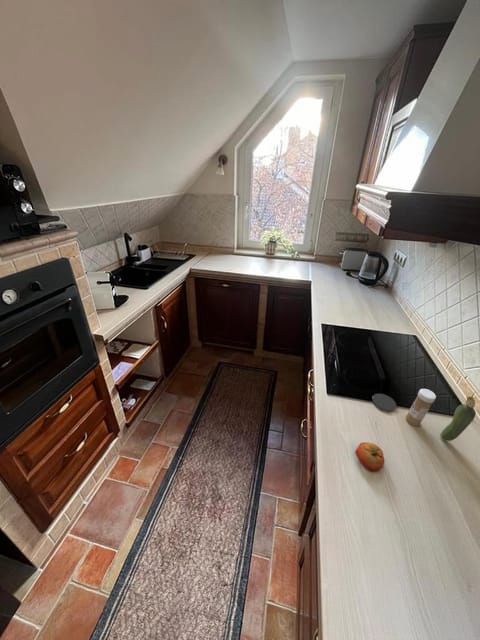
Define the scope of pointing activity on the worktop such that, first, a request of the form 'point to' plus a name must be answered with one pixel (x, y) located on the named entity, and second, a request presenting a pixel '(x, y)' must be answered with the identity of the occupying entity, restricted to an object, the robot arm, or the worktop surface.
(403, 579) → the worktop surface
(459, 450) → the worktop surface
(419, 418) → the sprinkles bottle
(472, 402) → the vegetable
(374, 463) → the tomato
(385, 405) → the slate coaster
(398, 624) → the worktop surface
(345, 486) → the worktop surface
